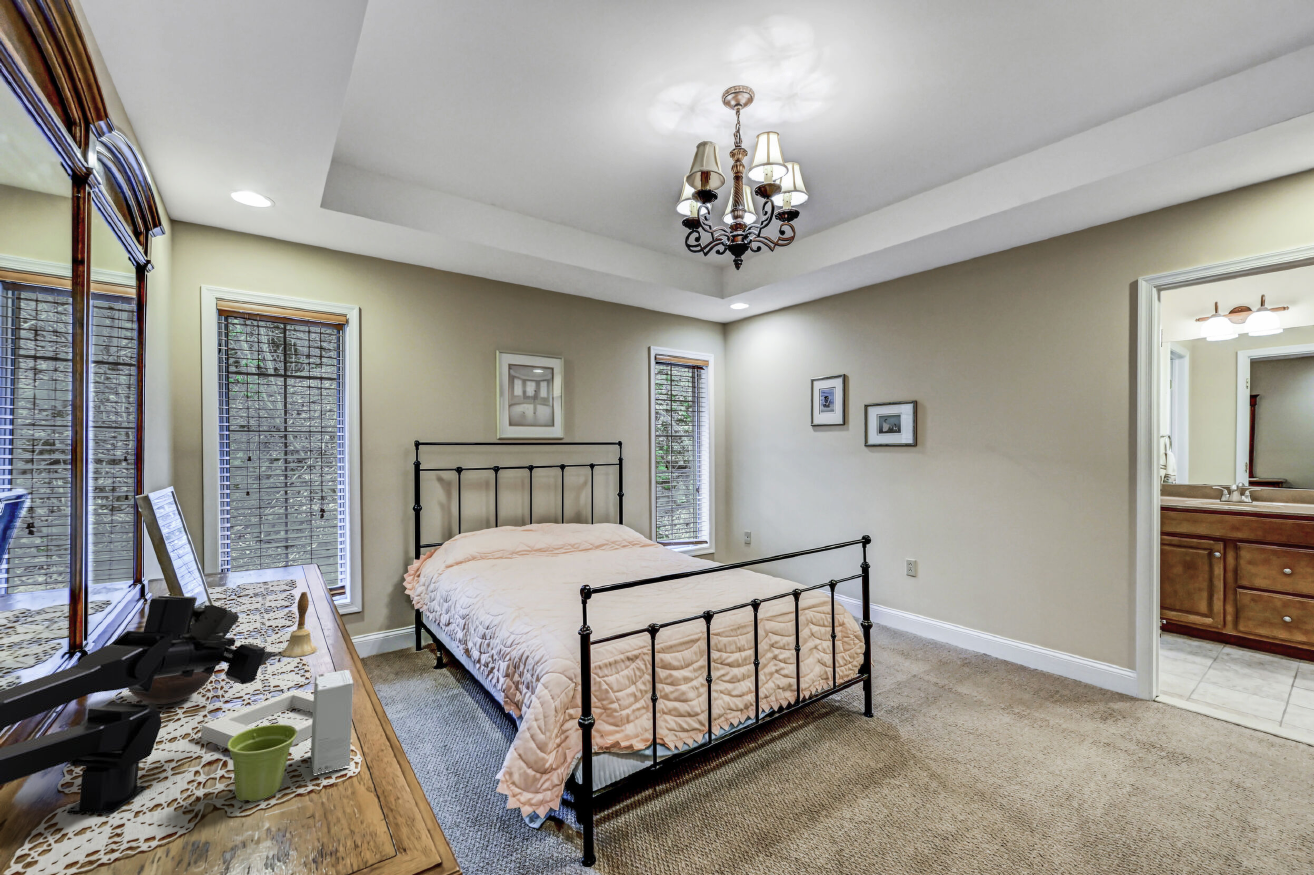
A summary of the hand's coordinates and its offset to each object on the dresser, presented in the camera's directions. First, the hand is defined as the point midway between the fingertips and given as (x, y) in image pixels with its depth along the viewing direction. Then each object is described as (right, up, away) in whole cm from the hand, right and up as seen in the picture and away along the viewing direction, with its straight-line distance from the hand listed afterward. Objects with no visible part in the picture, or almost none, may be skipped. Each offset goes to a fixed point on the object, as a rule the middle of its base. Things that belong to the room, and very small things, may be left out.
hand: (252, 648), depth 114 cm
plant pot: (+16, -16, -21) cm, 30 cm away
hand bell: (-16, -16, +40) cm, 46 cm away
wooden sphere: (-24, -15, +8) cm, 29 cm away
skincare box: (+22, -16, -11) cm, 29 cm away
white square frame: (+6, -16, 0) cm, 17 cm away
